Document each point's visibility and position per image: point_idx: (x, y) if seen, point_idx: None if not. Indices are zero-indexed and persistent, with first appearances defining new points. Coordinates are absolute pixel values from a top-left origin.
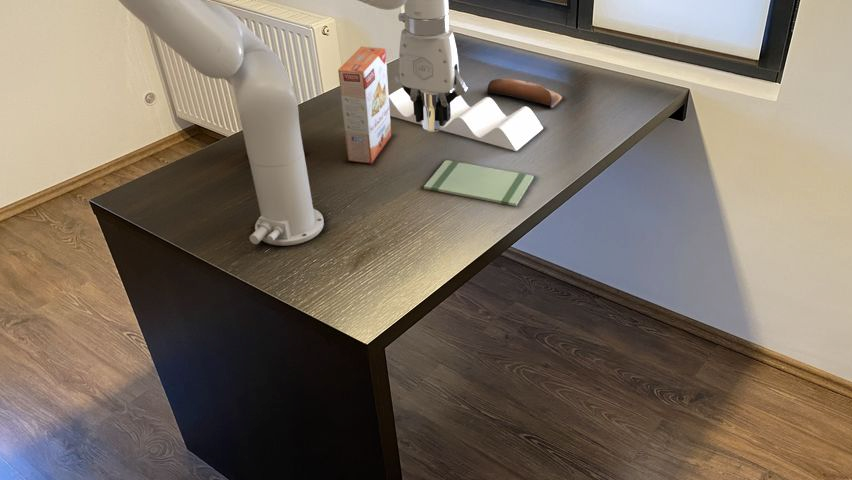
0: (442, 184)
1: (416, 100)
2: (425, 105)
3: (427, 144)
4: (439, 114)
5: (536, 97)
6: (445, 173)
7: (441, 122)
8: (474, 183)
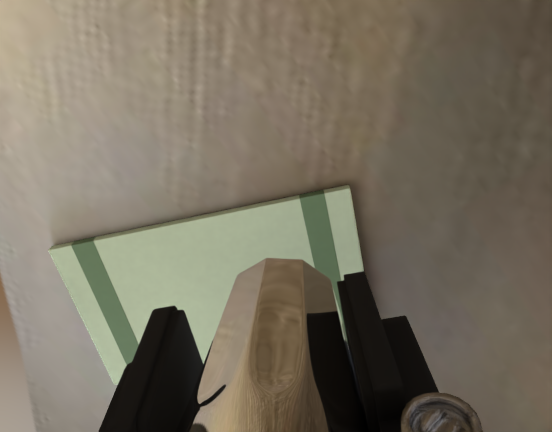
0: (302, 226)
1: (409, 423)
2: (271, 392)
3: (474, 381)
4: (152, 368)
5: None
6: (331, 280)
7: (153, 323)
8: (222, 278)
